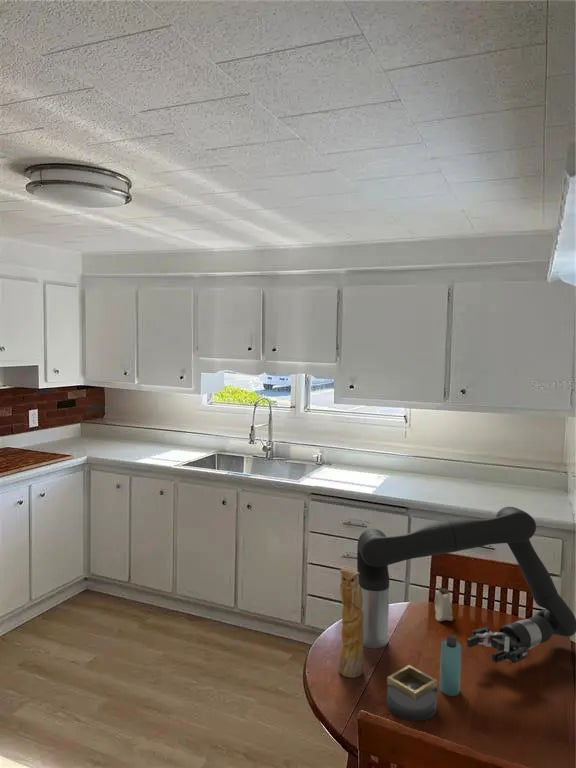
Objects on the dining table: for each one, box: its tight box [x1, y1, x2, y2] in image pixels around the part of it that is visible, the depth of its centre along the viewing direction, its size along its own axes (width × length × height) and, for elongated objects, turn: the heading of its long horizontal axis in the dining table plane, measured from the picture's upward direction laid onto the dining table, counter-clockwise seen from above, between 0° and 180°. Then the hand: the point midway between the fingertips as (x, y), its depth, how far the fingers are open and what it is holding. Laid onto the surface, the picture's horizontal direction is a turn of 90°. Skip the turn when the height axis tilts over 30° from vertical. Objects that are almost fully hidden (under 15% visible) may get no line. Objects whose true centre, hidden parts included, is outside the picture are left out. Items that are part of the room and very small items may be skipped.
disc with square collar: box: [386, 664, 438, 722], centre depth 143 cm, size 12×12×7 cm
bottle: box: [439, 634, 462, 697], centre depth 149 cm, size 5×5×14 cm
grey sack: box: [433, 587, 454, 622], centre depth 189 cm, size 9×8×10 cm
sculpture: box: [338, 568, 364, 679], centre depth 155 cm, size 7×9×30 cm
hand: (480, 650), depth 155 cm, fingers open, 8 cm apart
